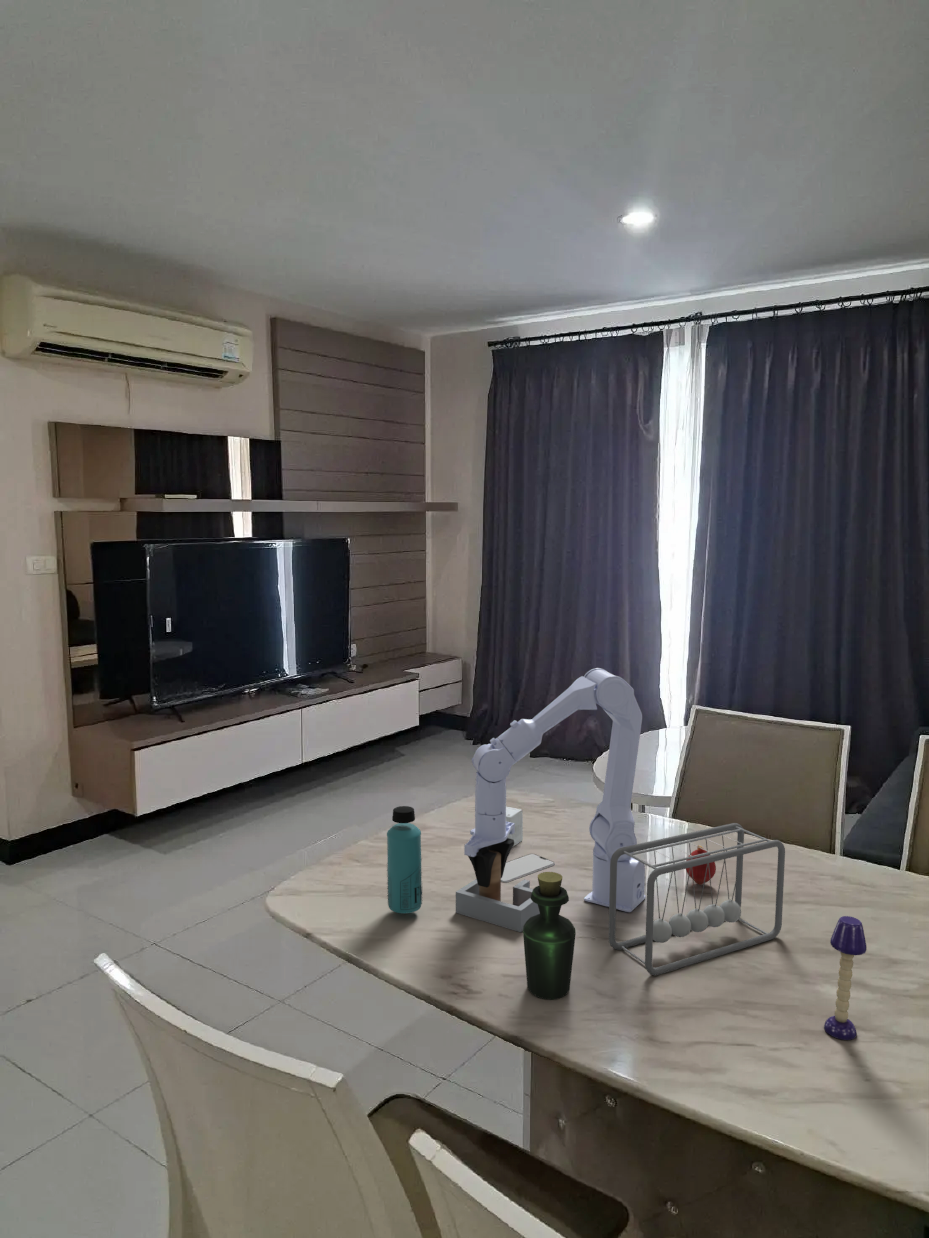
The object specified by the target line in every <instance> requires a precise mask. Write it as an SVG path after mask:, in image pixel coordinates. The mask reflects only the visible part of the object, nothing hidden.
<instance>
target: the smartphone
mask: <svg viewBox="0 0 929 1238" xmlns="http://www.w3.org/2000/svg"><path fill="white" fill-rule="evenodd" d="M555 865H556V862H555V861H553V860H550V859H549V858H545V857H543V856H542V855H541V856H540V855H539V854H537V853H528V854H526V855H521V856H519V857H516V858H514V859H511V860H507V861H506V864H505V868H504V872H503V876H502V878H501V883H505V884H507V883H509V882H513V881H516V880H518V879H520V878H523V877H526V876H530V875H532V874H534V873H537V872H540V871H542V870H543V871H544V870H546V869H549V868H551V867H554V866H555Z"/></svg>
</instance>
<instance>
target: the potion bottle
mask: <svg viewBox="0 0 929 1238" xmlns="http://www.w3.org/2000/svg"><path fill="white" fill-rule="evenodd" d="M537 880H538V881H537V883H538V885H537V886H535V887H533V888H532V889H533V891H532V894H531V900H532V901H533V902H534V903H536V904H538V908H539V912H540V914H538V915H535V916H533V917H530V918H529V919H528V920H527V921H526V923H525V924H524V926H523V931H522V936H523V938H522V939H523V947H524V948H523V949H524V959H525V960H524V961H525V974H526V986H527V989H528V991H529V993H531V995H533V996H535V997H537V998H540V999H543V1000H557V999H560V998H563V997H565V996H566V995H567V994H568V993H569V991H570V989H571V979H572V973H573V972H572V970H573V961H574V952H575V942H576V928H575V926H574V924H573V922H572V921H571V920H570V919H569V918H567V917H565V916H563V915H561V914H560V913H561V909H562V906H564V905H566V904H567V903H569V901H570V900H569V899H570V897H569V894H568V891H567V889H566V888H564V887H562V882H563V876H562V874H561V873H559V872H554V871H542V872H540V873H539V874H537Z"/></svg>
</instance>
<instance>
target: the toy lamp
mask: <svg viewBox="0 0 929 1238" xmlns="http://www.w3.org/2000/svg"><path fill="white" fill-rule="evenodd" d="M829 942H830V946H831V947H832V948H833V949H834V950H836V951H837V952H840V956H841V957H840V958H839V969H838V979H837V989H836V997H837V998H836V1001H835V1010H834V1015H832V1016H829V1017H828V1018H827V1019H826V1021H825V1022H824V1025H823V1029H824V1031H825V1032H826V1034H829V1035H830V1036H831V1037H834V1038H835V1039H838V1040H842V1041H851V1040H854V1039H856V1037H857V1028H856V1025H854V1023H853V1022H852V1021H851V1020H850V1019H849V1011H848V1010H849V1008H850V1001H849V1000H850V999H851V989H852V977H853V971H852V970H853V968H854V960H853V959H854V958H855V956H862V955H864V954H866V952H867V950H868V949H867V942H866V936H865V930H864V925H863V922H862V921H861V920H860V919H859V918H856V917H854V916H850V915H849V916H848V915H843V916H840V917H839V918H838V920H837V923H836V925H835V927H834V929H833V932H832V935H831V938H830V940H829Z"/></svg>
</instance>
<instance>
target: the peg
mask: <svg viewBox="0 0 929 1238" xmlns="http://www.w3.org/2000/svg"><path fill="white" fill-rule="evenodd" d="M489 851H490V852H494V853H497V855H496V857H495V859H494V862H493V865H492V870H491V880H490V885H489V887H487V888H486V887H483V886H479V895H480V896H484V897H487V898H491V899H494V900H498V901H501V902H502V899H501V898H502V897H501V896H502V893H501V891H502V887H501V885H502V882H501V854H500V853H499V852H497V851H491V850H489Z"/></svg>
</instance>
